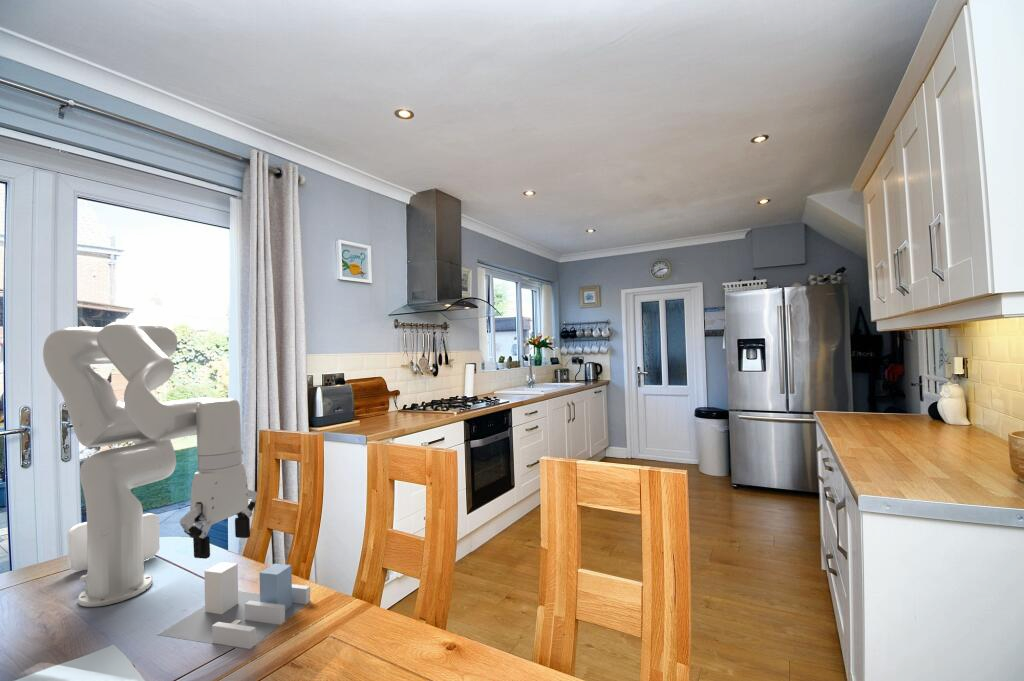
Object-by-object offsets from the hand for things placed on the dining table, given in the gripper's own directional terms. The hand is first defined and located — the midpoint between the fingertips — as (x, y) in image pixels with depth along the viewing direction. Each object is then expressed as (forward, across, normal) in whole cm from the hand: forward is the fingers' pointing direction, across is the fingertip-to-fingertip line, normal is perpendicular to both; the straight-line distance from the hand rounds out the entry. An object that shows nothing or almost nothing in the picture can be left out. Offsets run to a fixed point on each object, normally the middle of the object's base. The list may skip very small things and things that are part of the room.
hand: (223, 546), depth 95 cm
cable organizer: (+13, -13, -47) cm, 50 cm away
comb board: (+14, +2, +5) cm, 15 cm away
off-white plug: (+12, 0, -1) cm, 12 cm away
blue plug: (+12, -2, +10) cm, 16 cm away
